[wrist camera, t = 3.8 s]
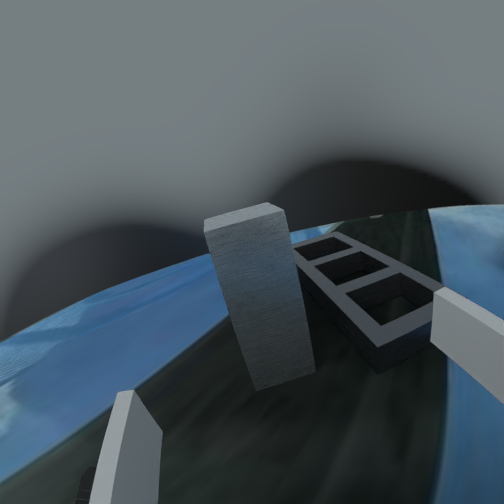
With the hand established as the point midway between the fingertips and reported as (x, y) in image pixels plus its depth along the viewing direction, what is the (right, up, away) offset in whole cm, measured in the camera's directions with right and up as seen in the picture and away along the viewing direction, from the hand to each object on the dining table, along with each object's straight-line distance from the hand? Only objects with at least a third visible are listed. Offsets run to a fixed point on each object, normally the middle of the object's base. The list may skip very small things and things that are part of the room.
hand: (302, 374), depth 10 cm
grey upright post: (0, -4, +11) cm, 12 cm away
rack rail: (+9, +1, +20) cm, 22 cm away
